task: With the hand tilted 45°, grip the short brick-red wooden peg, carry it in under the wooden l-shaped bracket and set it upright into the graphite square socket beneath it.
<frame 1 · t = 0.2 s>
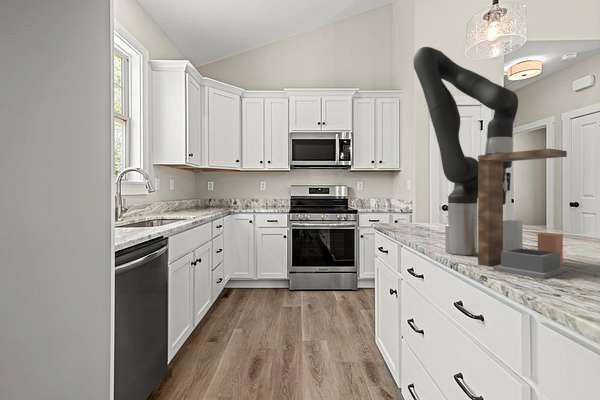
hand: (495, 204, 112), 17 cm above the worktop, tool pointing down, fingers open, 8 cm apart
skincare box: (512, 258, 113), on the worktop
peg: (549, 265, 101), on the worktop
wooden l-shaped bracket: (519, 268, 97), on the worktop
socket: (529, 270, 94), on the worktop
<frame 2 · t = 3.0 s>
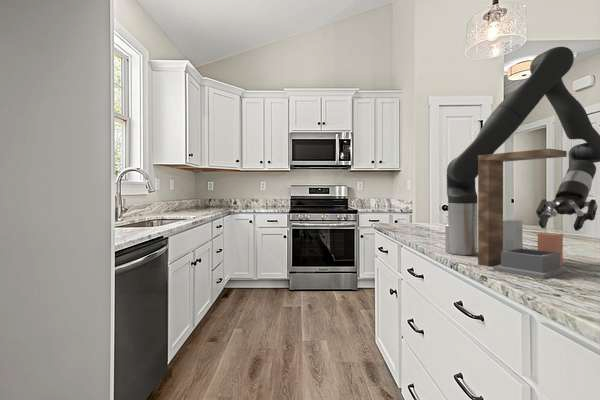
hand: (558, 227, 104), 10 cm above the worktop, tool tilted 45°, fingers open, 8 cm apart
nothing on the worktop moved.
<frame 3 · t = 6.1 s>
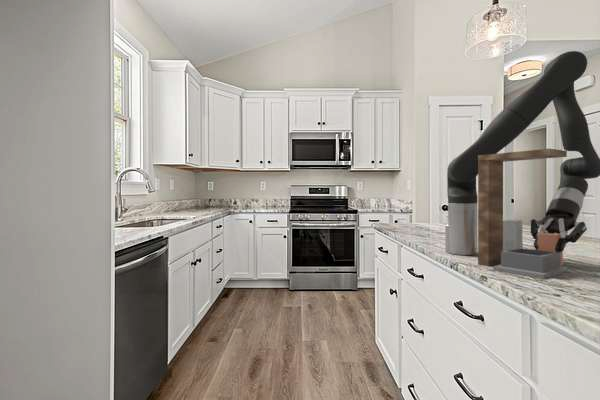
hand: (547, 249, 100), 5 cm above the worktop, tool tilted 45°, fingers closed on peg, 4 cm apart
peg: (549, 265, 101), on the worktop, touching gripper
everything else where it was.
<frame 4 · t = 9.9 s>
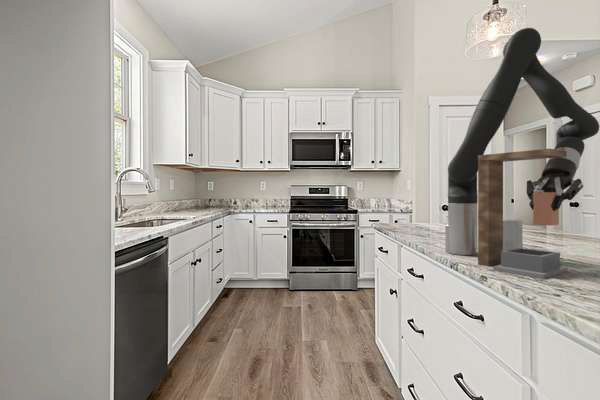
hand: (543, 208, 98), 16 cm above the worktop, tool tilted 45°, fingers closed on peg, 4 cm apart
peg: (545, 224, 99), point 12 cm above the worktop, touching gripper
everything else where it was.
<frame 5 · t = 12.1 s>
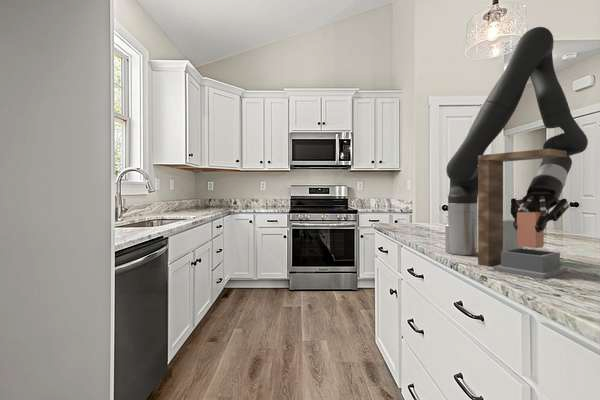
hand: (526, 229, 93), 11 cm above the worktop, tool tilted 45°, fingers closed on peg, 4 cm apart
peg: (530, 246, 94), point 7 cm above the worktop, touching gripper
everything else where it was.
when the fingers open (7 cm above the worktop, at t = 13.8 s): peg stays where it is, resting on socket.
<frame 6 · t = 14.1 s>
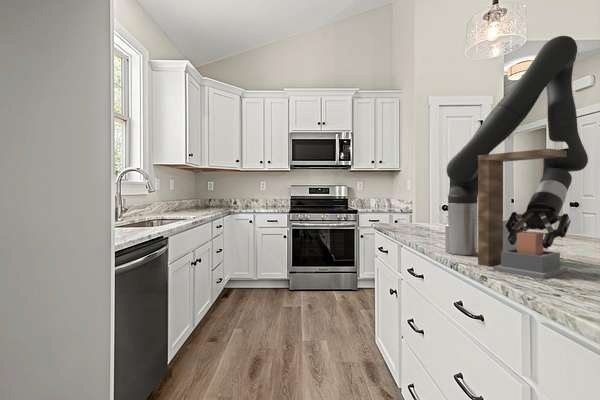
hand: (527, 244, 94), 7 cm above the worktop, tool tilted 45°, fingers open, 7 cm apart
peg: (529, 267, 94), point 1 cm above the worktop, touching socket
everything else where it was.
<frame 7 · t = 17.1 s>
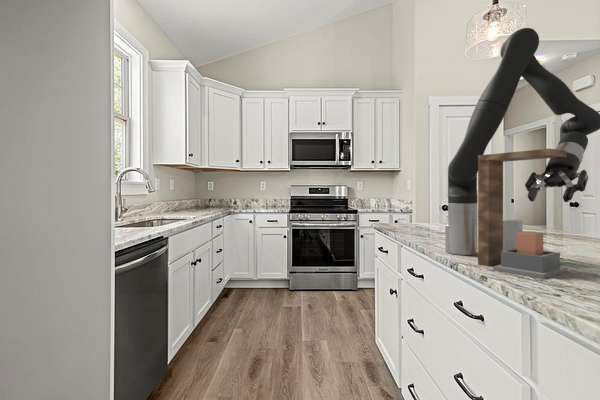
hand: (547, 199, 100), 19 cm above the worktop, tool tilted 45°, fingers open, 8 cm apart
nothing on the worktop moved.
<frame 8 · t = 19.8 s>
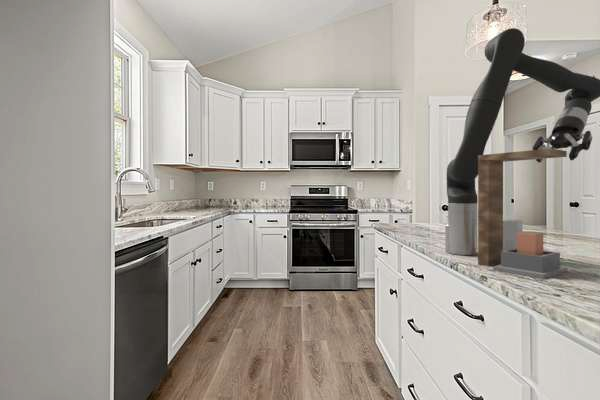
hand: (554, 159, 106), 31 cm above the worktop, tool tilted 45°, fingers open, 8 cm apart
nothing on the worktop moved.
at the end: peg 0.0 cm off-centre on the socket, point 1.0 cm above the socket's base; peg tilted 0°; the gripper is holding nothing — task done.
